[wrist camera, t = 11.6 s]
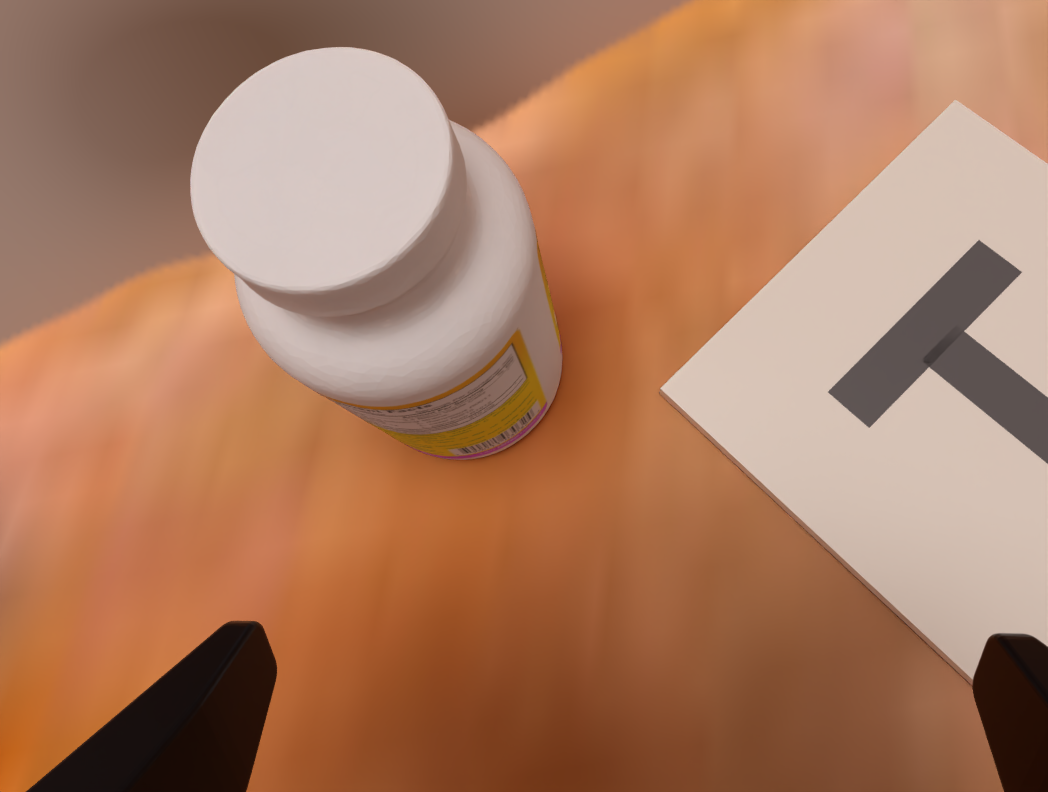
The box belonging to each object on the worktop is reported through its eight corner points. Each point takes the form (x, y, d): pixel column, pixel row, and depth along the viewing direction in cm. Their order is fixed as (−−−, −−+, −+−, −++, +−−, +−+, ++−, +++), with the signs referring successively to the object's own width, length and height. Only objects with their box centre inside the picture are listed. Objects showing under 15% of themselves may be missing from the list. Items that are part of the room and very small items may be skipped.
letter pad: (1344, 390, 21) (1365, 385, 21) (1027, 737, 20) (1040, 742, 19) (947, 110, 25) (955, 99, 24) (659, 392, 24) (660, 388, 23)
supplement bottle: (413, 254, 26) (231, -40, 13) (590, 305, 25) (569, 34, 12) (342, 429, 25) (68, 283, 12) (524, 492, 23) (426, 401, 11)
